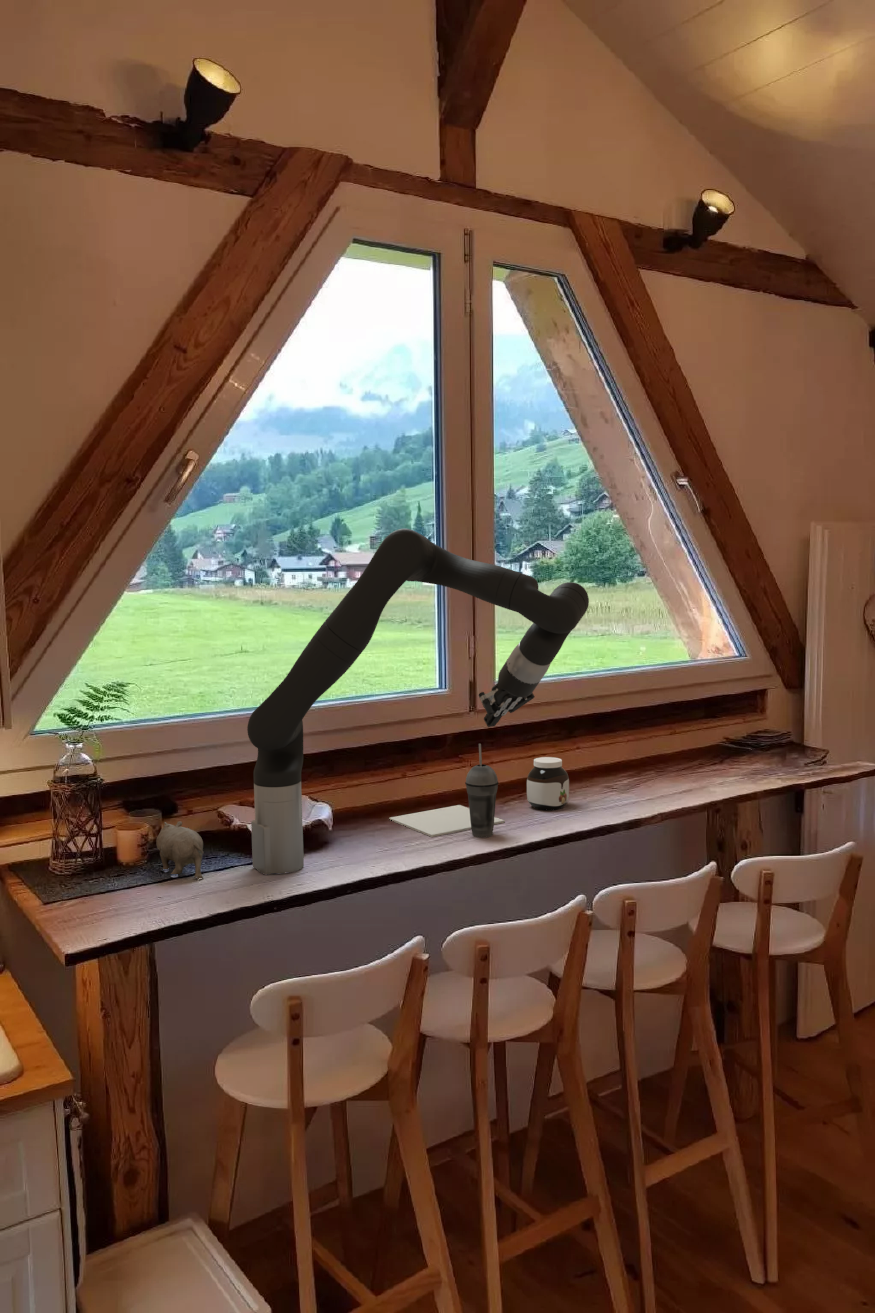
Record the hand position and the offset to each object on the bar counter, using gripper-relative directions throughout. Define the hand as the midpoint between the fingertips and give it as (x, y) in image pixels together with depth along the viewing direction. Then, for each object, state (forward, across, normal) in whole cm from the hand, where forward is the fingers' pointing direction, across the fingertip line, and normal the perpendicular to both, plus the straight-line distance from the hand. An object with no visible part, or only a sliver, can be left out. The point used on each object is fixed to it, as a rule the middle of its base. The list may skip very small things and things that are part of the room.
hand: (488, 723), depth 202 cm
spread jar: (+38, -35, +1) cm, 52 cm away
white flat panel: (+39, -7, 0) cm, 39 cm away
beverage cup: (+29, -7, +10) cm, 31 cm away
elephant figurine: (+39, +55, -1) cm, 68 cm away
